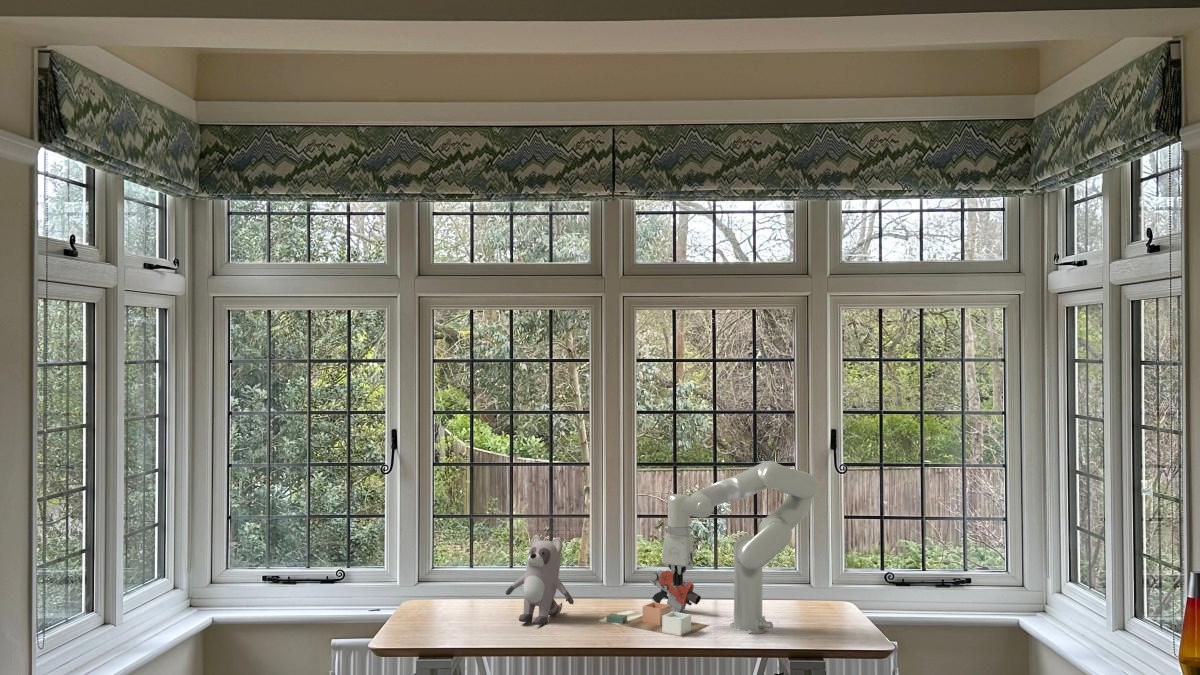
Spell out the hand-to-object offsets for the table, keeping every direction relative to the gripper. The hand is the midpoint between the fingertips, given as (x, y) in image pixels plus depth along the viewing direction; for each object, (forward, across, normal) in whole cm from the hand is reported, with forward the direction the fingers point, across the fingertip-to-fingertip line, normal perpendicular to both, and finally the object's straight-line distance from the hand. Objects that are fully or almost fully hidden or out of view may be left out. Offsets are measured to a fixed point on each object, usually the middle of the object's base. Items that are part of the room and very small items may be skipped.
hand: (677, 585), depth 323 cm
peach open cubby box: (+14, -8, 0) cm, 16 cm away
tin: (+14, -19, -8) cm, 25 cm away
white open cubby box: (+14, +4, -7) cm, 16 cm away
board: (+15, -8, -2) cm, 17 cm away
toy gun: (+15, -10, +16) cm, 24 cm away
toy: (+15, -43, -17) cm, 49 cm away
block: (+13, +4, -7) cm, 15 cm away
